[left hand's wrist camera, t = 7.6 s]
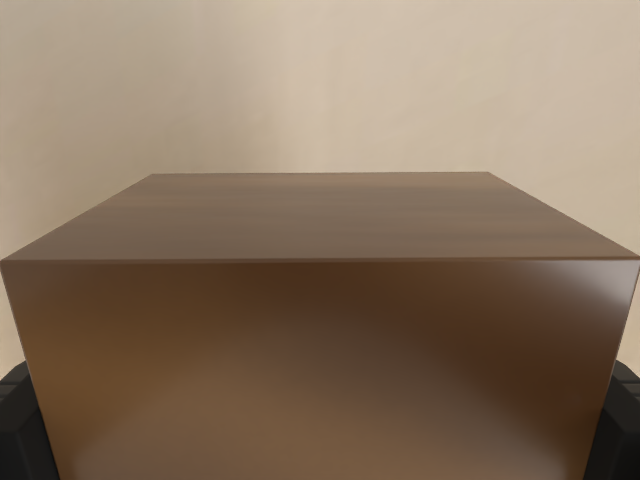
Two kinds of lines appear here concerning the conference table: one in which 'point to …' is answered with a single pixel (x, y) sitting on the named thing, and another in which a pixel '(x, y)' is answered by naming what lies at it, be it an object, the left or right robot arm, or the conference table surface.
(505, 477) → the slab
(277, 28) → the conference table surface
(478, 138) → the conference table surface
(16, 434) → the left robot arm
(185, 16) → the conference table surface
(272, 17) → the conference table surface
